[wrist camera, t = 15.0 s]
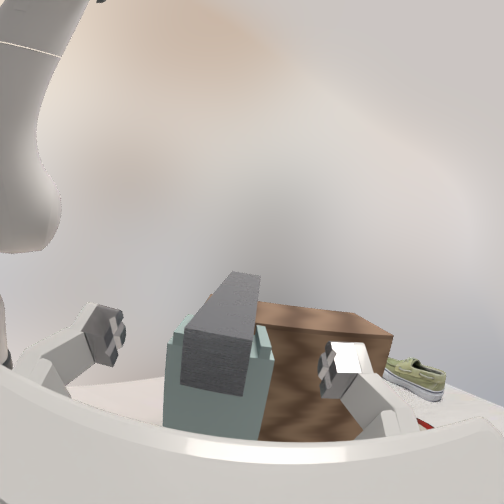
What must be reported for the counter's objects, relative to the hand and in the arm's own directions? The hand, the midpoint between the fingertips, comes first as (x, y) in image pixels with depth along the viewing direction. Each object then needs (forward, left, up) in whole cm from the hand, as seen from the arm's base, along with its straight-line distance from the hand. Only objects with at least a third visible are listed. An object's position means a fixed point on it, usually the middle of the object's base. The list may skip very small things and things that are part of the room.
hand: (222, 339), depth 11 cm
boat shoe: (+57, +59, -30) cm, 87 cm away
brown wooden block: (+8, +24, -30) cm, 39 cm away
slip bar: (+1, +15, -4) cm, 15 cm away
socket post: (0, +12, -30) cm, 32 cm away
